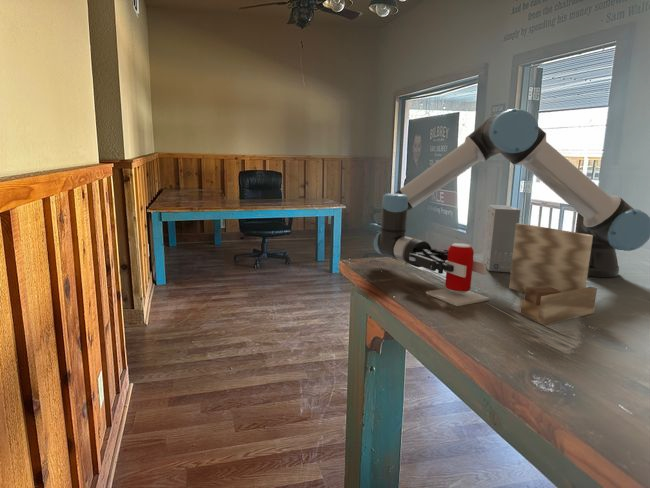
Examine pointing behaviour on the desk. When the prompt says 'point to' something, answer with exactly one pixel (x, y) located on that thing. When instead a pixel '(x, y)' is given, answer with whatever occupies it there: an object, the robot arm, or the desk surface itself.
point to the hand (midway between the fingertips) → (475, 270)
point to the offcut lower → (529, 309)
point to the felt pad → (457, 297)
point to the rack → (554, 270)
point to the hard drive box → (500, 237)
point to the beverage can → (464, 257)
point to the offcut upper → (538, 293)
